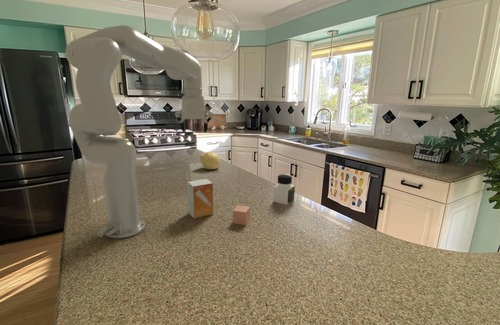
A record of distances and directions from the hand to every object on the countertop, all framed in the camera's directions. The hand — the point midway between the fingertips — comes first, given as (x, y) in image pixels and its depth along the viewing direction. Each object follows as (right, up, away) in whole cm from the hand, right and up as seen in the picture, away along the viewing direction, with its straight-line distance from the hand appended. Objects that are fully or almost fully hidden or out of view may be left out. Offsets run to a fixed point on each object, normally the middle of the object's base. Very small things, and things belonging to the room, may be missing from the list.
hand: (194, 131), depth 118 cm
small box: (+6, -34, -16) cm, 38 cm away
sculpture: (0, -18, +48) cm, 51 cm away
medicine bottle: (+40, -31, -2) cm, 51 cm away
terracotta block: (+22, -36, -22) cm, 47 cm away
